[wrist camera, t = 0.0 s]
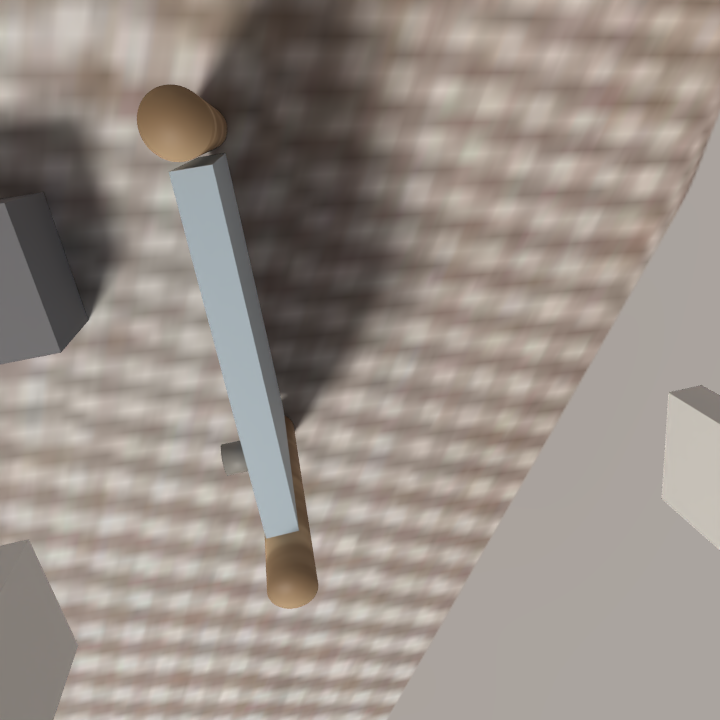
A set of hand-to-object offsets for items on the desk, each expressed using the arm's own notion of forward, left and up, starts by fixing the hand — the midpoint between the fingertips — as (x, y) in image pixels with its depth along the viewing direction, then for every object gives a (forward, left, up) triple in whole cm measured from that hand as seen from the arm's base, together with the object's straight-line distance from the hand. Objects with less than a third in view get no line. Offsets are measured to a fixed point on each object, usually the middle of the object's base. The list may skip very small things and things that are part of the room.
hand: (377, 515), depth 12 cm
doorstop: (-2, -16, -28) cm, 33 cm away
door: (+2, -4, -27) cm, 27 cm away
